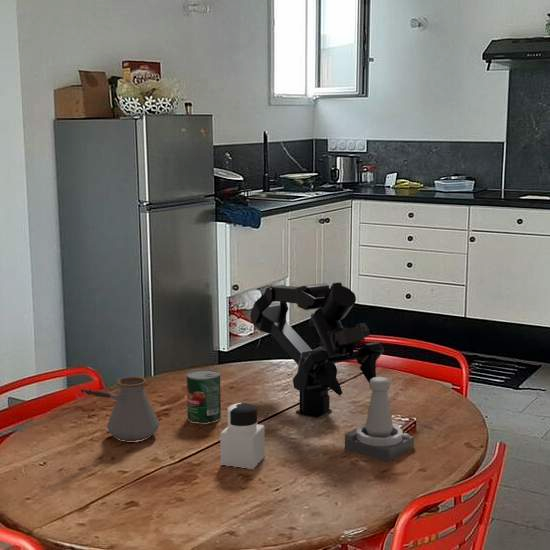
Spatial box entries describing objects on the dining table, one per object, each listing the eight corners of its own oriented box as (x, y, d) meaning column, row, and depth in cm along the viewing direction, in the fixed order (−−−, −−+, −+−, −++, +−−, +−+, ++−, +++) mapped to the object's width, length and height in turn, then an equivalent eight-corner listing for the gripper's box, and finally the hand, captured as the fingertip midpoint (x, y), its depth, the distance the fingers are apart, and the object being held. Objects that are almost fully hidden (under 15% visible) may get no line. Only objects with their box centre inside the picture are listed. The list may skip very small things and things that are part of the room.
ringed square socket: (344, 449, 182) (344, 431, 181) (369, 436, 190) (370, 419, 189) (389, 462, 175) (389, 443, 174) (413, 447, 183) (414, 429, 182)
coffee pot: (131, 424, 198) (129, 361, 195) (170, 433, 192) (168, 369, 189) (63, 454, 180) (59, 385, 178) (102, 465, 174) (99, 395, 172)
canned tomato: (181, 422, 199) (180, 376, 197) (196, 411, 207) (195, 367, 205) (212, 426, 196) (211, 380, 194) (226, 415, 204) (226, 371, 202)
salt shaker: (396, 441, 180) (397, 381, 177) (370, 443, 179) (371, 383, 176) (387, 431, 185) (388, 373, 183) (361, 433, 184) (362, 375, 182)
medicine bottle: (265, 457, 178) (264, 402, 176) (253, 470, 172) (252, 413, 169) (233, 453, 180) (232, 398, 178) (220, 466, 174) (219, 409, 172)
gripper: (309, 316, 184) (337, 379, 177) (379, 307, 193) (409, 366, 186) (290, 343, 193) (316, 404, 185) (359, 333, 202) (386, 391, 194)
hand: (358, 391), depth 187 cm, fingers open, 9 cm apart
